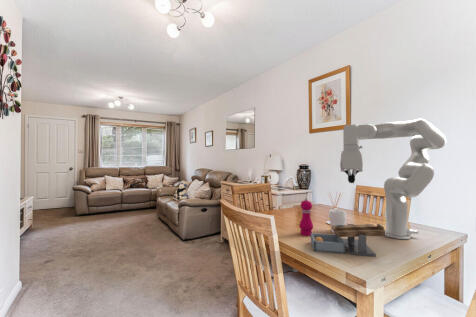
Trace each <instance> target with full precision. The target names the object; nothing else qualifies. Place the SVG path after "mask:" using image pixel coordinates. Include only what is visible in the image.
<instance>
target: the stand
mask: <svg viewBox="0 0 476 317" xmlns="http://www.w3.org/2000/svg"><path fill="white" fill-rule="evenodd" d="M347 225H355V224H354V223H347ZM367 237H368V236H367V235H364V234H358V237H357V238H356V237H341V238H342V240H343V241H344V242H345V250H347V252H348V253H349V255H352V256H361V257H362V256H363V257H364V256H365V257H375V258H376V257H377V254H376V253H375V251H373V250H372V249H371V248H370V246H368V244H367V240H368V239H367Z"/></svg>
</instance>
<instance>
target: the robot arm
mask: <svg viewBox="0 0 476 317" xmlns="http://www.w3.org/2000/svg"><path fill="white" fill-rule="evenodd" d="M342 129H343V131H342V132H343V133H342V135H343V137H342V138H343V139H342V140H343V143H342V145H343V148H342V149H343V150H341V153H340V163H339V166H340V170H339V171H340V172H343V173H345V175H347V181H348V182H349V184H355V181H356V176H357V174H358V173H361V172H363V171H364V170H363V164H364V163H363V156H362V150H360V149H363V145H360V141H362V140H373V139H374V140H375V139H376V140H377V139H378V140H379V139H381V140H383V139H394V138H395V139H396V138H407V137H408V138H409V137H412V138H411V139H410V140H409V146H410V150H411V152H410V156H409V157H408V159H406V161H405V162H404V163H403V165H402V166H401V167H400V168H399V170H398V176H396V177H395V176H394V177H388V178H387V179H385V181H384V183H383V189H384V194H385V219H386V220H385V229H384V230H385V236H384V237H388V238H392V239H398V240H410V239H411V238H412V235H418V234H419V231H418V230H415V229H411V228H408V201H407V198H417V197H418V196H419V195H420V194H421V193H422V192H424V190H425V189H426V187H428V185H429V184H430V183H431V182H432V180H433V179H434V176H435V170H434V168H433V167H432V165H430V164H429V161H430V157H429V155H428V152H427V151H428V150H439V149H442V148H444V147H445V145H446V143H447V138H446V136H445V134H443V132H441V131H440V130H439V129H438V128H437V127H435V126H434V125H433V124H432V123H431V122H429V121H427V120H426V119H424V118H417V119H413V120H405V121H392V122H390V121H389V122H383V123H379V124H374V125H373V124H371V123H366V124H346V125H344V126H343V128H342Z"/></svg>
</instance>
